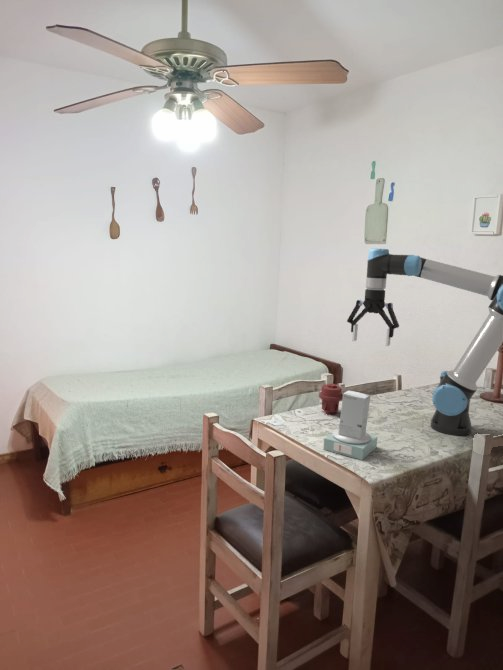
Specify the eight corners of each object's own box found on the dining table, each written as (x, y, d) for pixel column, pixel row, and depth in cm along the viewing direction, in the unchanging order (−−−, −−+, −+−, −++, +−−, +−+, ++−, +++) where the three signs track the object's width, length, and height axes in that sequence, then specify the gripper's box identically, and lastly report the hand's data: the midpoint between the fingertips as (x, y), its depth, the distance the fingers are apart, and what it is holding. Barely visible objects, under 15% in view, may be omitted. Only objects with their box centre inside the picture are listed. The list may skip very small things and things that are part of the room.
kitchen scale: (376, 447, 173) (377, 433, 172) (361, 460, 161) (362, 446, 160) (339, 437, 181) (340, 424, 180) (322, 449, 169) (323, 436, 168)
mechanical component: (316, 408, 213) (338, 409, 214) (320, 416, 203) (343, 417, 204) (318, 381, 211) (341, 381, 212) (322, 387, 201) (346, 388, 202)
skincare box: (338, 434, 170) (341, 393, 167) (344, 429, 175) (347, 389, 172) (361, 440, 165) (365, 398, 163) (367, 435, 170) (370, 393, 168)
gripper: (410, 291, 185) (405, 346, 189) (348, 286, 199) (344, 337, 202) (404, 292, 179) (399, 348, 183) (341, 286, 193) (337, 339, 196)
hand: (370, 343), depth 193 cm, fingers open, 13 cm apart
